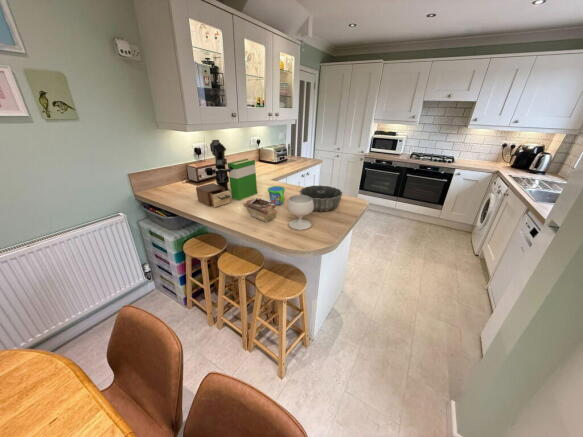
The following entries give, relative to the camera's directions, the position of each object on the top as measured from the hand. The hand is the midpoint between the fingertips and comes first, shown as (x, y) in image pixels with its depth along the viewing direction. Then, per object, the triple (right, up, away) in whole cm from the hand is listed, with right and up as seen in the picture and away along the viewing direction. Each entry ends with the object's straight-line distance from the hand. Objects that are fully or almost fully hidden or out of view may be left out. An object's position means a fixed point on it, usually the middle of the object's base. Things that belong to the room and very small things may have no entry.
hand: (222, 182), depth 148 cm
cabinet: (-9, -11, +8) cm, 16 cm away
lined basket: (+25, -22, -15) cm, 37 cm away
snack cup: (+34, -13, +4) cm, 37 cm away
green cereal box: (+11, -7, +18) cm, 22 cm away
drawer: (-3, -13, +3) cm, 13 cm away
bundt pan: (+62, -15, 0) cm, 64 cm away
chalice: (+49, -27, -23) cm, 60 cm away
